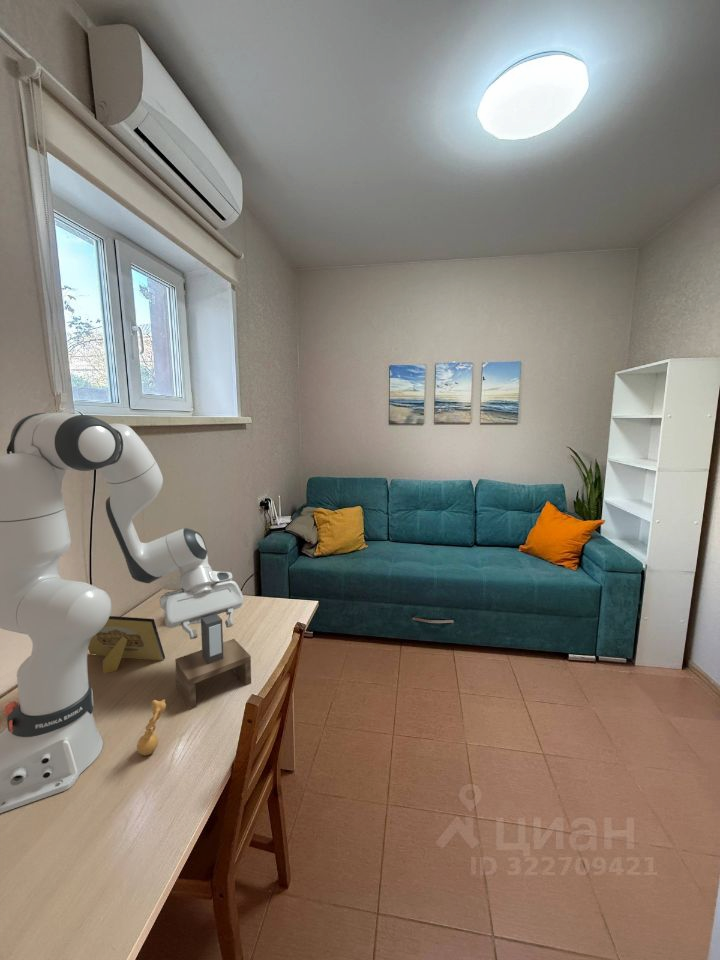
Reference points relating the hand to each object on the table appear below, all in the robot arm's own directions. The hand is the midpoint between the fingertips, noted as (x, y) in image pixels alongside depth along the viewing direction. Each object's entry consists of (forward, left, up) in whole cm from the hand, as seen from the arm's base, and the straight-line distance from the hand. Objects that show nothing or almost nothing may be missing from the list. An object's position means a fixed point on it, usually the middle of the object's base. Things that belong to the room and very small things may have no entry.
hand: (212, 632), depth 103 cm
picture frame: (-18, +27, -16) cm, 36 cm away
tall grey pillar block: (0, 0, -7) cm, 7 cm away
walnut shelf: (0, 0, -15) cm, 15 cm away
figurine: (-18, -13, -16) cm, 27 cm away
